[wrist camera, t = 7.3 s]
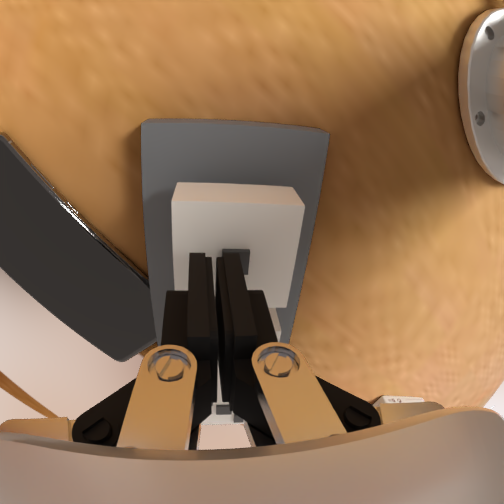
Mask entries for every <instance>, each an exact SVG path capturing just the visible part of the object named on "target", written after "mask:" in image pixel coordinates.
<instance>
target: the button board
mask: <svg viewBox="0 0 504 504" xmlns="http://www.w3.org/2000/svg"><path fill="white" fill-rule="evenodd" d="M329 138H330V134H329V133H327V132H325V131H323V130H322V129H320V128H312V127H304V126H296V125H286V124H276V123H265V122H252V121H237V120H217V119H147V120H146V121H144V122H143V123H141V168H142V196H143V215H144V230H145V243H146V255H147V266H148V275H149V285H150V293H151V301H152V309H153V317H154V324H155V331H156V337H157V344H158V346H161V337H162V327H163V317H164V307H165V298H166V291H167V290H175V286H174V268H173V245H172V208H171V201H172V197H173V194H174V191H175V188H176V185H177V182H193V183H228V184H251V185H270V186H286V187H293V189H294V190H295V191H296V193H297V194H298V196H299V197H300V199H301V200H302V202H303V203H304V205H305V210H304V216H303V221H302V227H301V233H300V238H299V244H298V250H297V255H296V260H295V266H294V271H293V276H292V281H291V287H290V292H289V297H288V302H287V307H286V308H276V312H277V316H278V319H279V323H280V327H281V336H280V341H279V342H280V343H286V344H289V340H290V336H291V332H292V327H293V323H294V319H295V315H296V310H297V306H298V301H299V297H300V292H301V288H302V283H303V279H304V274H305V269H306V264H307V260H308V255H309V250H310V245H311V240H312V235H313V230H314V224H315V219H316V214H317V209H318V203H319V198H320V192H321V186H322V181H323V175H324V169H325V163H326V157H327V151H328V144H329Z"/></svg>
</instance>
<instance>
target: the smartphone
mask: <svg viewBox="0 0 504 504" xmlns="http://www.w3.org/2000/svg"><path fill="white" fill-rule="evenodd" d="M0 268H2V269H3V270H4V271H5V272H6V273H7V274H8V275H9V276H10V277H11V278H12V279H13V280H14V281H15V282H16V283H17V284H18V285H19V286H21V287H22V288H23V289H24V290H25V291H26V292H27V293H29V294H30V295H31V296H32V297H33V298H34V299H35V300H37V301H38V302H39V303H40V304H41V305H42V306H44V307H45V308H46V309H47V310H48V311H50V312H51V313H52V314H53V315H54V316H56V317H57V318H58V319H59V320H61V321H62V322H63V323H64V324H66V325H67V326H68V327H70V328H71V329H72V330H74V331H75V332H76V333H78V334H79V335H80V336H82V337H83V338H84V339H86V340H87V341H88V342H90V343H91V344H92V345H94V346H95V347H97V348H98V349H100V350H101V351H103V352H104V353H105V354H107V355H108V356H110V357H111V358H113V359H114V360H116V361H119V362H125V361H127V360H129V359H130V358H132V357H133V356H135V355H137V354H138V353H140V352H141V351H143V350H145V349H146V348H148V347H149V346H151V345H152V344H154V343H156V342H157V337H156V331H155V324H154V317H153V309H152V301H151V293H150V285H149V278H148V277H147V276H146V275H145V274H144V273H143V272H142V271H141V270H139V269H138V268H137V267H136V266H135V265H134V264H133V263H132V262H131V261H130V260H128V259H127V258H126V257H125V256H124V255H123V254H122V253H121V252H120V251H119V250H118V249H117V248H115V247H114V246H113V245H112V244H111V243H110V242H109V241H108V240H107V239H106V238H105V237H104V236H103V235H102V234H101V233H100V232H99V231H98V230H97V229H96V228H95V227H93V226H92V225H91V224H90V223H89V222H88V221H87V220H86V219H85V218H84V217H83V216H82V215H81V214H80V213H79V212H78V211H77V210H76V209H75V208H74V207H73V206H72V205H71V204H70V203H69V202H68V201H67V200H66V199H65V197H64V196H63V195H62V194H61V193H60V192H59V191H58V190H57V189H56V188H55V187H54V186H53V185H52V184H51V183H50V182H49V181H48V180H47V179H46V178H45V176H44V175H43V174H42V173H41V172H40V171H39V170H38V169H37V168H36V167H35V166H34V164H33V163H32V162H31V161H30V160H29V159H28V158H27V157H26V155H25V154H24V153H23V152H22V151H21V150H20V149H19V148H18V146H17V145H16V144H15V143H14V142H13V141H12V139H11V138H10V137H9V136H8V135H7V134H6V133H5V132H0Z"/></svg>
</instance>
